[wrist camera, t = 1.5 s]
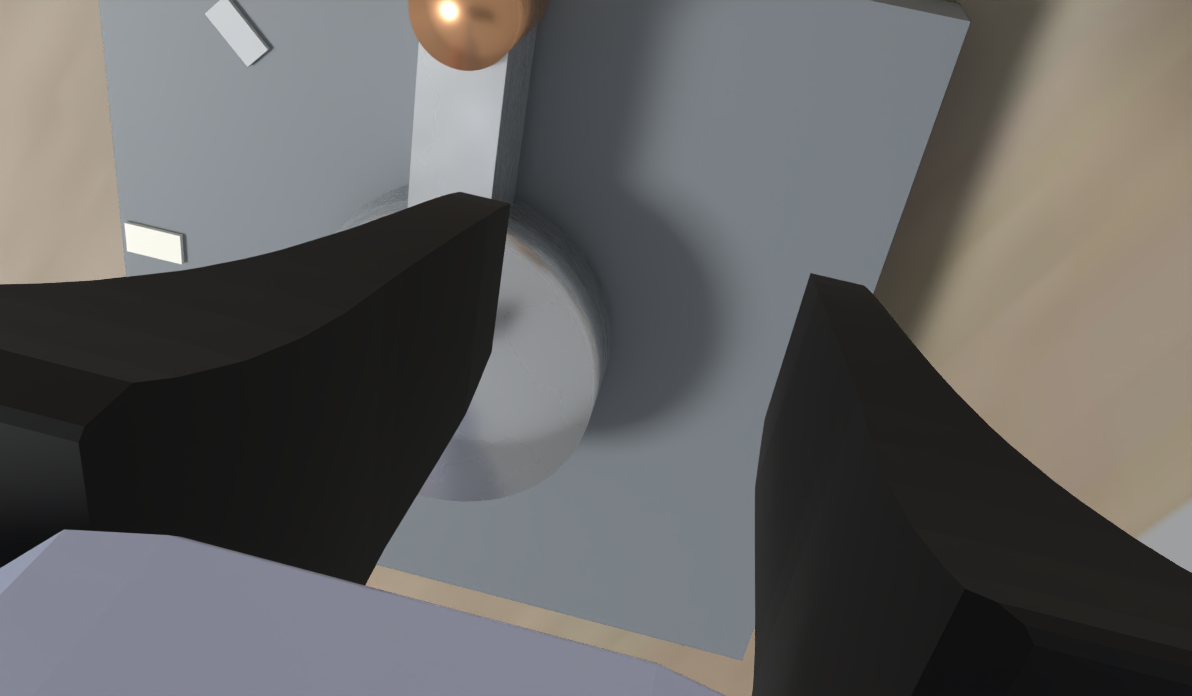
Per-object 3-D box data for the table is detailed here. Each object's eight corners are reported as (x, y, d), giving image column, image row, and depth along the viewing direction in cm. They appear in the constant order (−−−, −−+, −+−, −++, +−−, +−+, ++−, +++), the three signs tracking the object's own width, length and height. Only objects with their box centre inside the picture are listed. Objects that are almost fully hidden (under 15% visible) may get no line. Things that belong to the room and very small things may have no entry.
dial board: (745, 617, 26) (741, 663, 25) (179, 470, 27) (146, 507, 26) (959, 3, 18) (971, 23, 17) (130, -170, 19) (78, -165, 18)
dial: (585, 475, 23) (564, 539, 21) (319, 408, 23) (275, 465, 21) (688, -28, 17) (672, -3, 15) (328, -104, 17) (270, -89, 15)
